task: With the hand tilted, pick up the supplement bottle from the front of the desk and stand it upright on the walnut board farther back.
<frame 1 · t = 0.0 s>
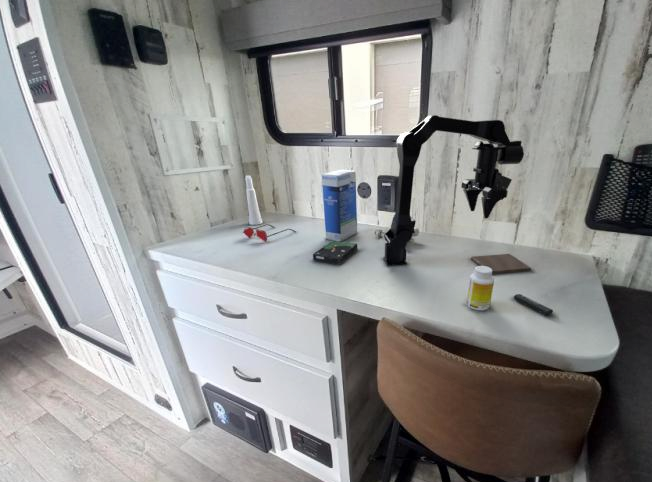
hand: (479, 214, 101), 15 cm above the table, tool pointing down, fingers open, 9 cm apart
disk drive: (336, 256, 109), on the table
walnut board: (499, 264, 100), on the table
supplement bottle: (477, 306, 78), on the table
string lights box: (342, 236, 128), on the table
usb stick: (531, 307, 77), on the table
cosmetic bottle: (256, 223, 147), on the table
clip-on lamp: (394, 241, 122), on the table
glasses: (270, 235, 130), on the table
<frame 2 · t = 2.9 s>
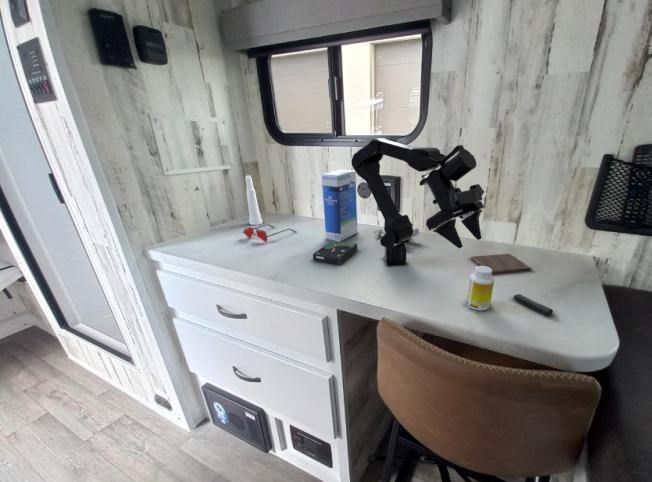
hand: (470, 243, 80), 14 cm above the table, tool tilted 40°, fingers open, 9 cm apart
nothing on the table moved.
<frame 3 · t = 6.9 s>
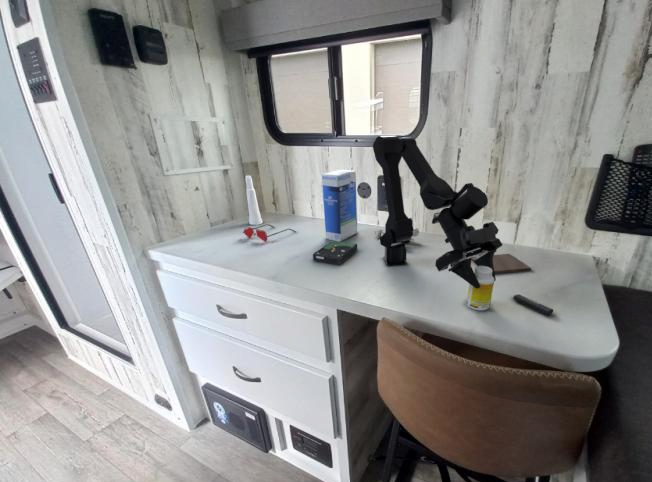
hand: (486, 284, 74), 7 cm above the table, tool tilted 45°, fingers closed on supplement bottle, 5 cm apart
supplement bottle: (477, 306, 78), on the table, touching gripper
everything else where it was.
when the fingers open (8 cm above the table, at t = 14.3 s): supplement bottle stays where it is, resting on walnut board.
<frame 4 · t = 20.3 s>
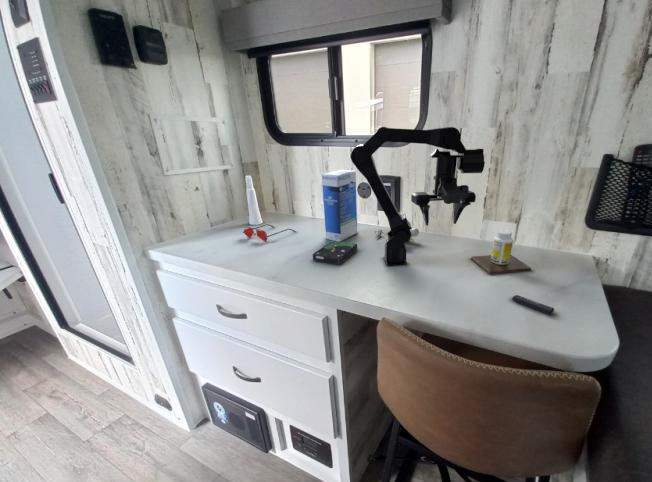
hand: (440, 224, 97), 13 cm above the table, tool pointing down, fingers open, 9 cm apart
supplement bottle: (499, 262, 100), point 1 cm above the table, touching walnut board
everything else where it was.
at the end: supplement bottle inside the target area on the walnut board (0.2 cm from its centre), point 0.8 cm above the walnut board's base; supplement bottle tilted 0°; the gripper is holding nothing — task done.
